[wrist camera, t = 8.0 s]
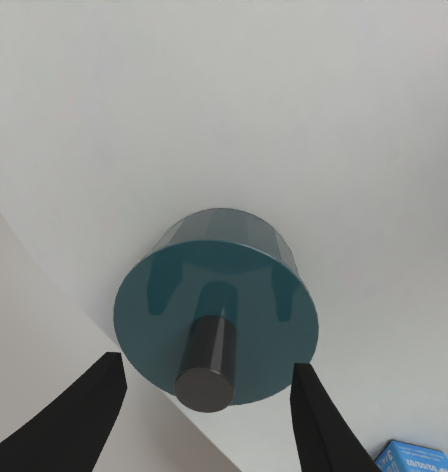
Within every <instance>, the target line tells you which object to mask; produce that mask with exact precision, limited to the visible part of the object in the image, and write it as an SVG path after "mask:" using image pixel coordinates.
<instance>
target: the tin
mask: <svg viewBox="0 0 448 472" xmlns="http://www.w3.org/2000/svg"><path fill="white" fill-rule="evenodd" d="M196 236H221V237H229V238H234V239H239V240H243V241H246V242H249V243H252V244H255V245H257V246H259V247H261V248H263V249H266V250H268V251H269V252H271V253H272V254H274V255H276V256H277V257H279V258H280V259H282V260H283V261H284V262H285V263H286V264H288V265H289V266H290V267H291V268H292V269H293V270H294V271H295V272H296V273H297V275H298V276H299V273H298V270H297V267H296V264H295V261H294V258H293V255H292V253H291V250H290V248H289V247H288V246H287V244H286V243H285V241H284V240H283V238H282V237H281V236H280V234H279V233H278V232H277V231H276V230H275V229H274V228H273V227H272V226H270V225H269V224H268V223H267V222H265V221H263V220H262V219H260V218H258V217H256V216H254V215H252V214H250V213H247V212H244V211H240V210H235V209H225V208H218V209H209V210H204V211H200V212H197V213H194V214H192V215H190V216H187V217H185V218H184V219H182V220H181V221H179V222H178V223H177V224H176V225H175V226H173V227H172V228H171V229H170V230H169V231H168V232H166V233H165V234H164V236H163V237H162V238H161V240H160V241H159V242H158V244H157V245H156V246H155V248H154V249H153V250H152V251H154V250H155V249H157V248H159V247H161V246H163V245H165V244H168V243H170V242H174V241H177V240H180V239H185V238H190V237H196ZM299 277H300V276H299Z"/></svg>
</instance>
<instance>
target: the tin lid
mask: <svg viewBox="0 0 448 472" xmlns="http://www.w3.org/2000/svg"><path fill="white" fill-rule="evenodd" d="M114 327H115V332H116V336H117V339H118V342H119V344H120V346H121V349H122V351H123V352H124V354H125V355H126V357H127V359H128V360H129V361H130V363H131V364H132V365H133V366H134V367H135V369H136V370H137V371H138V372H139V373H140V374H141V375H143V376H144V377H145V378H146V379H147V380H149V381H150V382H151V383H152V384H154V385H156V386H157V387H159V388H160V389H162V390H164V391H166V392H168V393H170V394H172V395H174V396H176V397H177V398H178V400H179V401H180V402H181V403H182V404H183V405H185V406H186V407H188V408H190V409H192V410H195V411H198V412H205V413H211V412H217V411H220V410H223V409H225V408H226V407H227V406H231V405H242V404H247V403H252V402H256V401H259V400H263V399H265V398H268V397H270V396H273V395H274V394H276V393H278V392H280V391H282V390H283V389H285V388H286V387H288V386H289V385H290V384H292V377H293V369H294V363H307V364H309V363H310V361H311V359H312V357H313V354H314V352H315V349H316V345H317V341H318V332H319V324H318V316H317V312H316V309H315V305H314V302H313V299H312V297H311V295H310V293H309V291H308V289H307V287H306V285H305V284H304V283H303V281H302V280H301V278H300V277H299V276H298V275H297V273H296V272H295V271H294V270H293V269H292V268H291V267H290V266H289V265H288V264H286V263H285V262H284V261H283V260H282V259H280V258H279V257H277V256H276V255H274V254H272V253H271V252H269V251H268V250H266V249H263V248H261V247H259V246H257V245H255V244H252V243H249V242H246V241H243V240H239V239H234V238H229V237H221V236H196V237H190V238H185V239H180V240H177V241H174V242H170V243H168V244H165V245H163V246H161V247H159V248H157V249H155V250H154V251H152V252H151V253H149V254H148V255H146V256H145V257H144V258H142V259H141V260H140V261H139V262H138V263H137V264H136V265H135V266H134V267H133V269H132V270H131V271H130V272H129V274H128V275H127V276H126V277H125V279H124V281H123V282H122V284H121V286H120V288H119V291H118V293H117V296H116V300H115V305H114Z"/></svg>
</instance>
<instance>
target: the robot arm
mask: <svg viewBox="0 0 448 472" xmlns="http://www.w3.org/2000/svg"><path fill="white" fill-rule="evenodd" d="M126 390H127V384H126V378H125V372H124V367H123V362H122V357H121V353H116V352H106V353H105V354H104V355H103V356H102V357H101V358H100V359H99V360H98V361H96V362H95V363H94V364H93V365H92V366H91V367H90V368H89V369H88V370H87V371H86V372H85V373H84V374H83V375H81V376H80V377H79V378H78V379H77V380H76V381H75V382H74V383H73V384H72V385H71V386H70V387H68V388H67V389H66V390H65V391H64V392H63V393H62V394H61V395H59V396H58V397H57V398H56V399H55V400H54V401H53V402H51V403H50V404H49V405H48V406H47V407H45V408H44V409H43V410H42V411H41V412H40V413H38V414H37V415H36V416H35V417H33V419H31V420H30V421H29V422H27V423H26V424H25V425H23V426H22V427H21V428H20V429H18V430H17V431H16V432H14V433H13V434H12V435H10V436H9V437H8V438H6V439H5V440H4V441H2V442H1V443H0V472H92V470H93V468H94V466H95V464H96V462H97V460H98V458H99V455H100V453H101V451H102V449H103V447H104V445H105V443H106V440H107V438H108V436H109V434H110V432H111V430H112V427H113V425H114V423H115V421H116V419H117V416H118V414H119V411H120V409H121V406H122V402H123V399H124V397H125V394H126ZM290 405H291V414H292V423H293V430H294V435H295V440H296V445H297V450H298V455H299V460H300V465H301V469H302V472H382V471H381V470H380V468H379V467H378V466H377V465H376V463H375V462H374V461H373V459H372V458H371V457H370V456H369V454H368V453H367V452H366V450H365V449H364V448H363V446H362V445H361V443H360V442H359V441H358V439H357V438H356V436H355V435H354V434H353V432H352V431H351V429H350V428H349V426H348V425H347V423H346V422H345V421H344V419H343V417H342V416H341V414H340V413H339V411H338V410H337V408H336V407H335V405H334V404H333V402H332V400H331V399H330V397H329V395H328V394H327V392H326V390H325V389H324V387H323V385H322V384H321V382H320V380H319V378H318V376H317V374H316V373H315V371H314V369H313V367H312V365H311V364H307V363H294V369H293V377H292V386H291V394H290Z"/></svg>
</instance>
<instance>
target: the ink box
mask: <svg viewBox="0 0 448 472" xmlns="http://www.w3.org/2000/svg"><path fill="white" fill-rule="evenodd" d="M375 463H376V465H377V466H378V467H379V468H380V470H381V471H382V472H448V459H447V457H446V456H445V454H444V453H443V452H440V451H436V450H431V449H427V448H423V447H418V446H414V445H410V444H405V443H401V442H397V441H394V440H391V442H390V444H389V445H388V446H387V448H386V449H385V450H384V451H383V453H382V454H381V455H380V456H379V457H378V459H377V460H376V461H375Z"/></svg>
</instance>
